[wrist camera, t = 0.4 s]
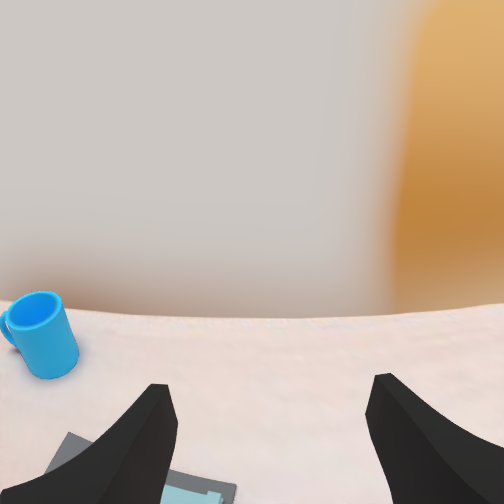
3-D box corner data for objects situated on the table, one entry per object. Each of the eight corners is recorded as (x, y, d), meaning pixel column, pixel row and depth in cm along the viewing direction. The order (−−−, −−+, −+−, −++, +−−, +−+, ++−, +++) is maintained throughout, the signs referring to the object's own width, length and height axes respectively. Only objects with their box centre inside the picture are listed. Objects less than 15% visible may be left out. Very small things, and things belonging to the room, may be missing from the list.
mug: (86, 341, 38) (71, 292, 35) (67, 384, 31) (44, 334, 27) (23, 332, 37) (5, 287, 34) (0, 368, 30) (-24, 322, 27)
